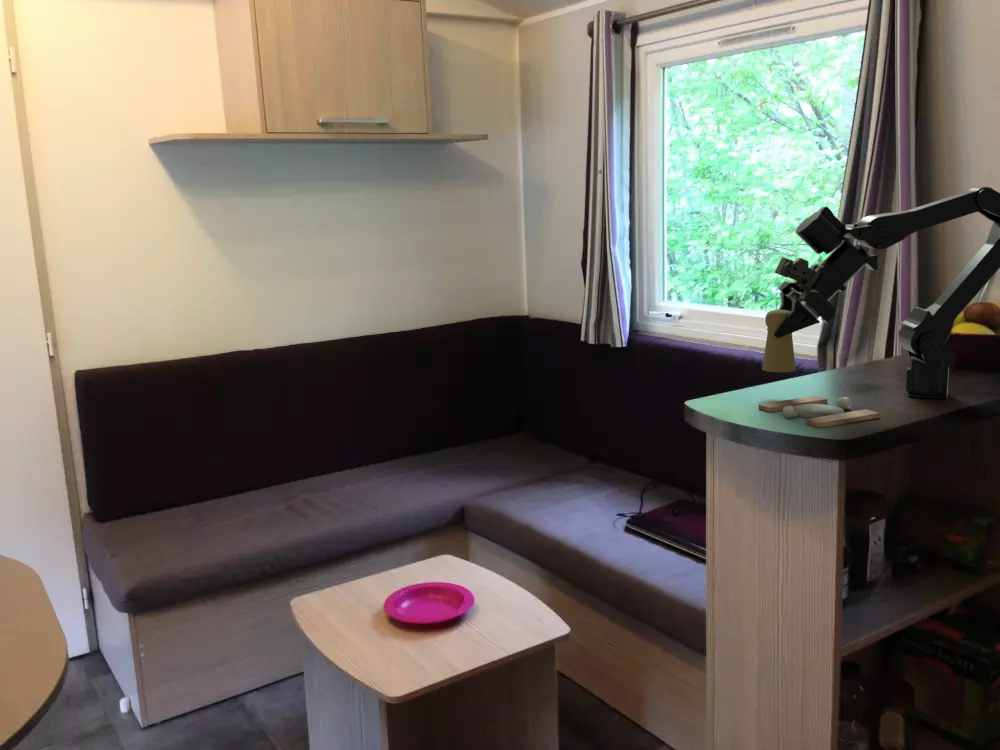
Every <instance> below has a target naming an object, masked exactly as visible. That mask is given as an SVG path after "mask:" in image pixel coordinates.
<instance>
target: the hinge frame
mask: <svg viewBox="0 0 1000 750" xmlns="http://www.w3.org/2000/svg"><path fill="white" fill-rule="evenodd" d="M828 400H829V399H828V398H826V397H822V396H819V395H818V396H817V395H811V396H805V397H798V398H791V399H785V400H778V401H771V402H765V403H760V404H758V410H761V411H765V412H767V413H774V412H781V411H782V415H783V417H784V418H786V419H790V418H795V417H800V418H802V419H806V423H805V425H809V426H812V427H815V428H818V429H821V427H822V428H825V427H833V426H838V425H844V424H851V423H856V422H862V421H868V420H873V419H879V418H880V412H877V411H874V410H871V409H859V410H853V411H848V412H845V410H846V409H850V408H851V407H852V400H851V398H849V396H845V397H839V398H838V399H837V401H836V405H830V404H828Z"/></svg>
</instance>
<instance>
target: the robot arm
mask: <svg viewBox="0 0 1000 750" xmlns="http://www.w3.org/2000/svg"><path fill="white" fill-rule="evenodd" d="M977 212H978V213H980V215H982V216H983V217H985V218H986V219H988V220H989V221H992V222H993V224H992V225H991V227H990V230H989V233H988V237H987V240H986V242H985V243H984V244H983V246H982V247H981V248H980V249H979V250H978V251H977V253H975V255H974V256H973V257H972V258H971V259H970V260H969V262H968V263H967V264H966V265H965V267H964V268H963V269H962V270H961V271H960V273H959V274H958V275H957V276H956V277H955V278H954V279H953V280H952V281H951V283H950V284H949V285H948V286H947V287H946V288H945V290H944V291H943V292H942V293H941V295H940V296H939V297H938V298H937V299H936V300H935V301H934V303H932V304H931V305H929V306H928V307H926V308H921V307H919V306H915V307H914V308H913V309H912V310H911V312H910V313H909V315H908V317H907V318H906V319H905V320H903V321H901V322H900V325H902V326H901V328H900V329H899V330H898V333H897V334H898V341H899V344H900V346H901V347H902V348H903V349H904V350H906V353H907V355H908V358H909V359H911V362H910V366H908V367H907V369H906V384H905V385H906V386H905V391H906V392H907V396H908V397H913V398H914V397H915V398H925V399H926V398H927V399H939V400H941V399H942V400H947V399H948V396H949V389H948V388H949V386H948V385H949V376H950V373H949V372H950V367H953V366H954V365H955V362H956V359H957V358H958V354H957V353H956V352H955V351H954V350H953V348H951V347H949V345H948V344H947V341H948V340H949V338H950V336H951V333H952V330H953V329H954V325H955V321H956V320H957V318H958V316H960V314H961V313H962V312H963V311H964V310H965V309H966V307H967V306H968V305H969V304H970V303H971V302H972V301H973V299H974V298H975V297H976V296H977V295H978V294H979V293H980V291H981V290H982V289H983V288H984V287H985V286H986V284H987V283H988V282H989V281H990V280H991V279H992V277H994V275H995V274H996V273H997V272H998V271H999V269H1000V192H999V191H996V190H995V189H993V188H992V187H989V186H976V187H975V186H974V187H972V188H970V189H968V190H967V191H963V192H960V193H958V194H954V195H951V196H948V197H945V198H942V199H939V200H935V201H933V202H930V203H927V204H923V205H920V206H916V207H913V208H910V209H907V210H902V211H895V212H894V211H893V212H885V213H879V214H871V215H867V216H865V217H862V218H861V219H860V220H859V221H858V222H857V223H851V224H848V223H847V224H844V223H843V222H842V221H841V220H839V219H838V218H837V216H835V215H834V213H833V211H832V210H831V209H830V208H829V207H828V206H821V208H819V209H818V210H817V211H815V212H814V213H812V214H810V216H808V217H806V218H805V219H804V220H803V221H802V222H801V223H800V224H799V225H798V226H797V228H796V230H795V234H796V235H797V236H799V238H801V240H803V242H804V243H805V244H806V245H807V246H809V248H810V249H812V250H813V252H815V254H816V255H821V254H823V253H824V254H825V255H828V256H827V257H825V259H824V260H823V261H822V262H821V263H820V264H819V263H816V264H815V263H814V264H813V265H812V266H810V267H809V261H808V260H807V259H804V258H802V257H797V258H796V259H795V260H793V259H789V258H787V257H784V256H781V258H780V260H779V262H778V265H777V266H776V268H775V270H774V273H775V274H778V275H779V276H782V277H784V278H789V279H791V280H786V281H783V282H782V283H781V284H780V286H779V287H778V288H777V289H778V291H780V294H779V296H780V302H781V303H780V306H779V307H778V310H788V311H791V312H790V313H789V314H788V315H787V317H786V318H785V319H784V321H783V322H782V323H781V324H780V326H779V327H778V328H777V330H776V331H775V333H774V336H775V337H777V338H780V337H783V336H785V335H788V334H790V333H792V334H793V333H795V332H798V331H800V330H803V329H805V328H808V327H811V326H813V325H816V324H817V325H818V324H820V323H821V321H822V322H824V323H825V324H830V322H831V321H833V320H834V318H835V317H836V316H837V314H836V312H837V308H836V307H835V306H834V305H833V304H832V303H831V302H829V301H830V300H831V299H832V298H833V297H834V296H836V295H837V293H838V292H841V293H844V292H845V290H846V289H847V287H846V286H845V285H847V284H848V282H850V280H852V279H853V278H854V277H855V276H856V275H857V274H858V273H859V272H860V271H861V270H862V269H863V268H864V267H865V268H867V269H868V270H871V271H875V272H877V271H878V270H879V266H878V260H879V255H878V254H874V253H873V254H870V253H869V252H868V251H867V250H866V249H865V248H870V249H874V250H885V249H887V248H891V247H892V246H894V245H896V244H899V242H902V241H904V240H905V239H907V238H908V237H909V236H911V235H912V234H914V233H916V232H918V231H921V230H924V229H927V228H930V227H934V226H937V225H940V224H944V223H947V222H949V221H952V220H955V219H959V218H962V217H965V216H968V215H972V214H974V213H977ZM848 239H852V240H856V241H857V242H858V243H859V244H855V245H853V243H851V242H850V241H849V240H848ZM861 245H862V246H861ZM864 247H865V248H864ZM793 280H794V281H793ZM819 318H821V320H819ZM766 330H767V332H768V327H767V328H766Z"/></svg>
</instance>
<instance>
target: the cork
mask: <svg viewBox="0 0 1000 750" xmlns="http://www.w3.org/2000/svg"><path fill="white" fill-rule="evenodd" d="M790 312H791V311H788V310H779V309H773V310H769V311H768V312H767V313H766V315H765V317H764V318H765V326H767V328H768V331H767V333H766V341H765V347H764V354H763V360H762V366H761V370H762V371H765V372H768V373H769V372H770V373H790V372H795V371H796V368H797V367H796V359H795V353H794V352H795V350H794V343H793V342H794V341H793V333H790V334H788V335H785V336H783V337H780V338H777V337H775V336H774V333H775V331H776V330H777V328H778V327H779V326H780V324H781V323H782V322H783V321H784V319H785V318H786V317H787V315H788V314H789V313H790Z"/></svg>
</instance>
